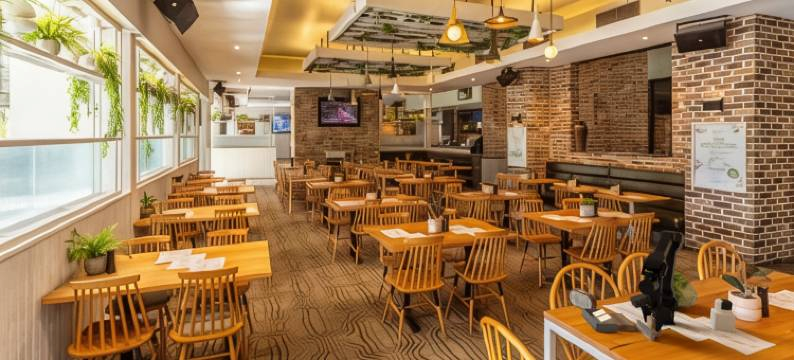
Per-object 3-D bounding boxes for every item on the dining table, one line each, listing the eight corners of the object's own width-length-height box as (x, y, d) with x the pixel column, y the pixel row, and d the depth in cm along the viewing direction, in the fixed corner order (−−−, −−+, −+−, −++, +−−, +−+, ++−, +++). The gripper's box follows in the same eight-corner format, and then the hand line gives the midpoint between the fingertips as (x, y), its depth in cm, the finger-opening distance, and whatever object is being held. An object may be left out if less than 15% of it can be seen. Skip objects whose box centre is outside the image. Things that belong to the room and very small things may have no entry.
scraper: (650, 328, 202) (651, 311, 201) (666, 341, 189) (667, 323, 188) (636, 327, 202) (637, 311, 201) (651, 340, 189) (652, 323, 189)
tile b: (609, 319, 205) (607, 313, 205) (613, 323, 201) (611, 317, 200) (599, 323, 205) (597, 317, 205) (603, 327, 201) (601, 321, 201)
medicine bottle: (729, 326, 205) (731, 298, 204) (734, 332, 198) (736, 303, 197) (709, 324, 207) (711, 296, 206) (714, 330, 201) (716, 301, 200)
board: (621, 318, 213) (621, 313, 212) (635, 331, 199) (635, 325, 198) (602, 317, 213) (602, 312, 213) (615, 330, 199) (615, 324, 199)
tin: (596, 313, 219) (597, 295, 218) (591, 314, 218) (592, 295, 217) (572, 302, 233) (573, 285, 232) (567, 303, 231) (568, 286, 231)
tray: (600, 316, 215) (600, 308, 215) (616, 332, 197) (616, 323, 197) (581, 315, 215) (582, 308, 215) (596, 331, 197) (596, 323, 197)
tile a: (604, 314, 211) (602, 308, 211) (608, 317, 207) (606, 312, 206) (594, 318, 211) (592, 312, 211) (598, 321, 207) (596, 316, 207)
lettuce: (682, 318, 214) (695, 280, 213) (630, 296, 232) (642, 260, 230) (697, 317, 226) (709, 280, 225) (646, 296, 244) (658, 262, 242)
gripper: (623, 281, 204) (621, 318, 205) (643, 296, 185) (641, 335, 186) (650, 282, 203) (648, 318, 204) (673, 296, 184) (671, 336, 186)
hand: (651, 327), depth 195 cm, fingers open, 9 cm apart
